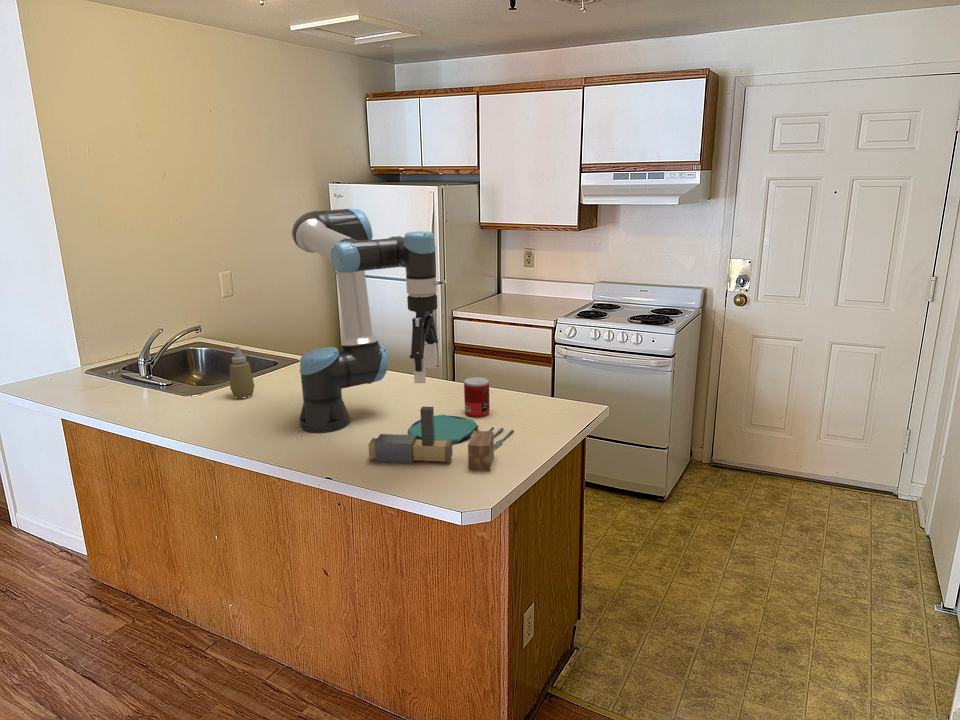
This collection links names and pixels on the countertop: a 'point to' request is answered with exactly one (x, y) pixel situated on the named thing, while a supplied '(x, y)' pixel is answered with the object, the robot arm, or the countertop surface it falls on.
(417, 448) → the gray and tan bar
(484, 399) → the canned food
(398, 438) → the sleeve
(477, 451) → the socket block
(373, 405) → the countertop surface
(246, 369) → the squeeze bottle
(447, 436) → the cutlery set
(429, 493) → the countertop surface
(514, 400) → the countertop surface
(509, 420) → the countertop surface
